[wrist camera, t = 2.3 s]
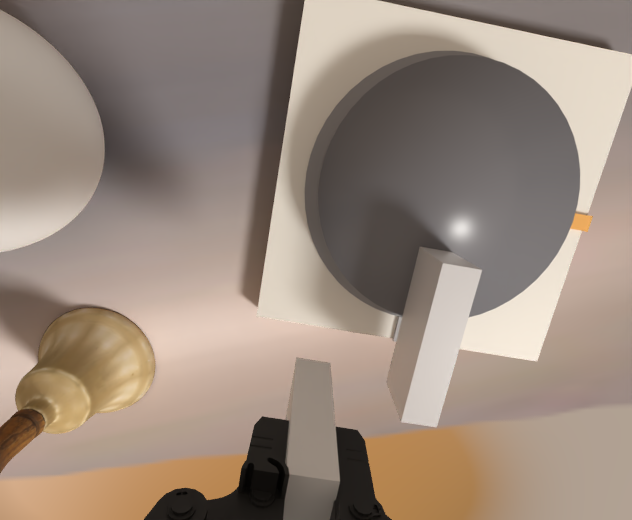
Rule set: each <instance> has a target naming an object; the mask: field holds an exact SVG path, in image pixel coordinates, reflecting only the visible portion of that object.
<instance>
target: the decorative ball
mask: <svg viewBox="0 0 632 520" xmlns="http://www.w3.org/2000/svg"><path fill="white" fill-rule="evenodd" d="M104 158H105V141H104V133H103V127H102V123H101V119H100V116H99V113H98V110H97V108H96V105H95V103H94V101H93V98H92V96H91V94H90V93H89V91H88V89H87V87H86V86H85V84H84V82H83V81H82V79H81V78H80V76H79V75H78V74H77V72H76V71H75V70H74V68H73V67H72V66H71V65H70V64H69V62H68V61H67V60H66V59H65V58H64V57H63V56H62V55H61V54H60V53H59V52H58V51H57V50H56V49H55V48H54V47H53V46H52V45H51V44H50V43H49V42H48V41H46V40H45V39H44V38H43V37H42V36H40V35H39V34H38V33H36V32H35V31H34V30H32V29H31V28H30V27H28V26H27V25H25V24H24V23H22V22H21V21H19V20H18V19H16V18H14V17H13V16H11V15H9V14H7V13H6V12H4V11H2V10H0V252H4V251H9V250H14V249H17V248H21V247H24V246H27V245H30V244H33V243H35V242H38V241H40V240H42V239H44V238H47V237H48V236H50V235H52V234H54V233H56V232H57V231H59V230H60V229H62V228H63V227H64V226H66V225H67V224H68V223H70V222H71V221H72V220H73V219H74V218H75V217H76V216H77V215H78V214H79V213H80V212H81V211H82V210H83V209H84V207H85V206H86V205H87V203H88V202H89V201H90V199H91V197H92V196H93V194H94V192H95V190H96V188H97V186H98V183H99V181H100V178H101V174H102V170H103V165H104Z"/></svg>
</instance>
